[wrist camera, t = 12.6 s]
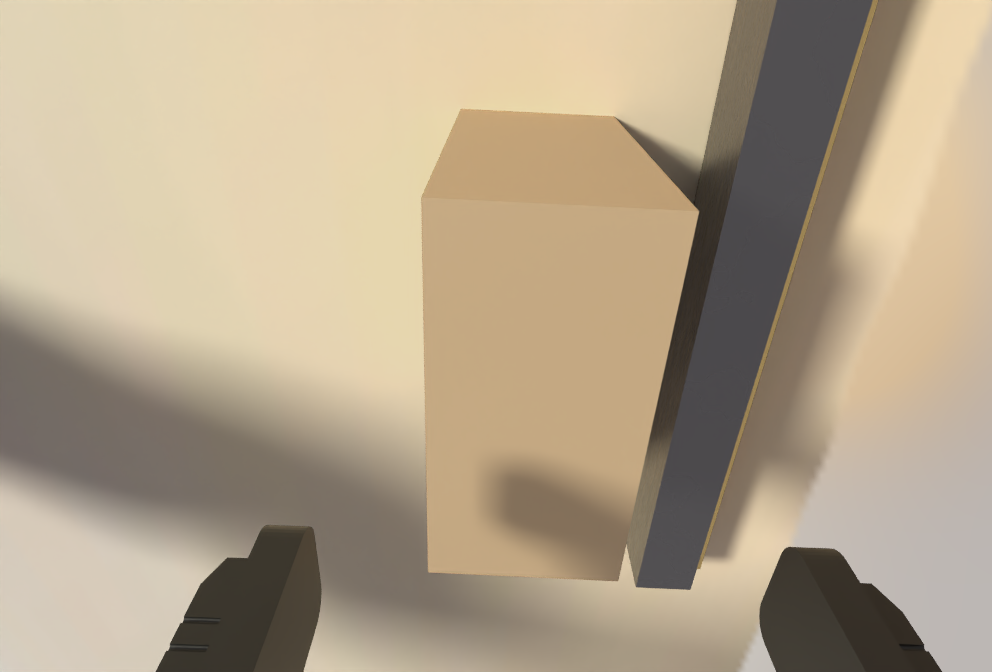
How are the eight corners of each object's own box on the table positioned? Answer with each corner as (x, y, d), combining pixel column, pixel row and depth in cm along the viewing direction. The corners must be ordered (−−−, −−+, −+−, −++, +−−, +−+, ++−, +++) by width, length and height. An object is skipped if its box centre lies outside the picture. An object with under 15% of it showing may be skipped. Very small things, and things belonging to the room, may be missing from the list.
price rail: (680, 536, 29) (697, 589, 26) (624, 533, 29) (635, 587, 26) (898, -248, 15) (980, -301, 12) (791, -253, 15) (850, -307, 12)
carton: (586, 373, 24) (629, 581, 16) (457, 367, 24) (427, 572, 16) (623, 116, 19) (715, 212, 11) (460, 108, 19) (421, 197, 11)
